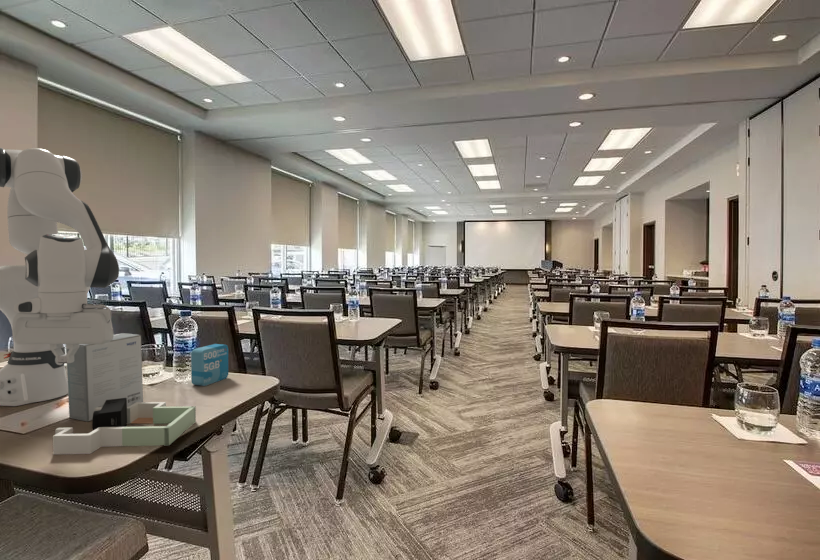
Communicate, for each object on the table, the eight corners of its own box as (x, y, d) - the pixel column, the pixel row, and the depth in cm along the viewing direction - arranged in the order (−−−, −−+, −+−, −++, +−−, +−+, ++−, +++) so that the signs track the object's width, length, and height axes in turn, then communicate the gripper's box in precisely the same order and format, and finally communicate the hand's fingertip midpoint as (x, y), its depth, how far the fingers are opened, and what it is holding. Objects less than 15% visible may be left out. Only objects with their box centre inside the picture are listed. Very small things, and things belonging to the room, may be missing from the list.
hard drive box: (125, 400, 125) (124, 332, 124) (144, 403, 122) (143, 334, 121) (67, 418, 111) (65, 342, 110) (86, 422, 108) (84, 344, 107)
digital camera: (100, 428, 105) (100, 400, 105) (127, 424, 107) (126, 397, 107) (92, 444, 96) (91, 414, 95) (121, 440, 98) (120, 410, 98)
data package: (201, 387, 138) (201, 350, 138) (191, 385, 140) (190, 349, 139) (228, 377, 150) (228, 343, 149) (218, 376, 151) (218, 342, 150)
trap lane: (43, 454, 90) (42, 436, 90) (106, 417, 111) (106, 402, 111) (161, 452, 92) (160, 434, 92) (201, 416, 113) (201, 401, 113)
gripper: (118, 302, 103) (119, 359, 104) (28, 302, 102) (30, 359, 102) (101, 305, 97) (103, 366, 97) (5, 305, 95) (7, 366, 96)
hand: (65, 362), depth 100 cm, fingers closed
